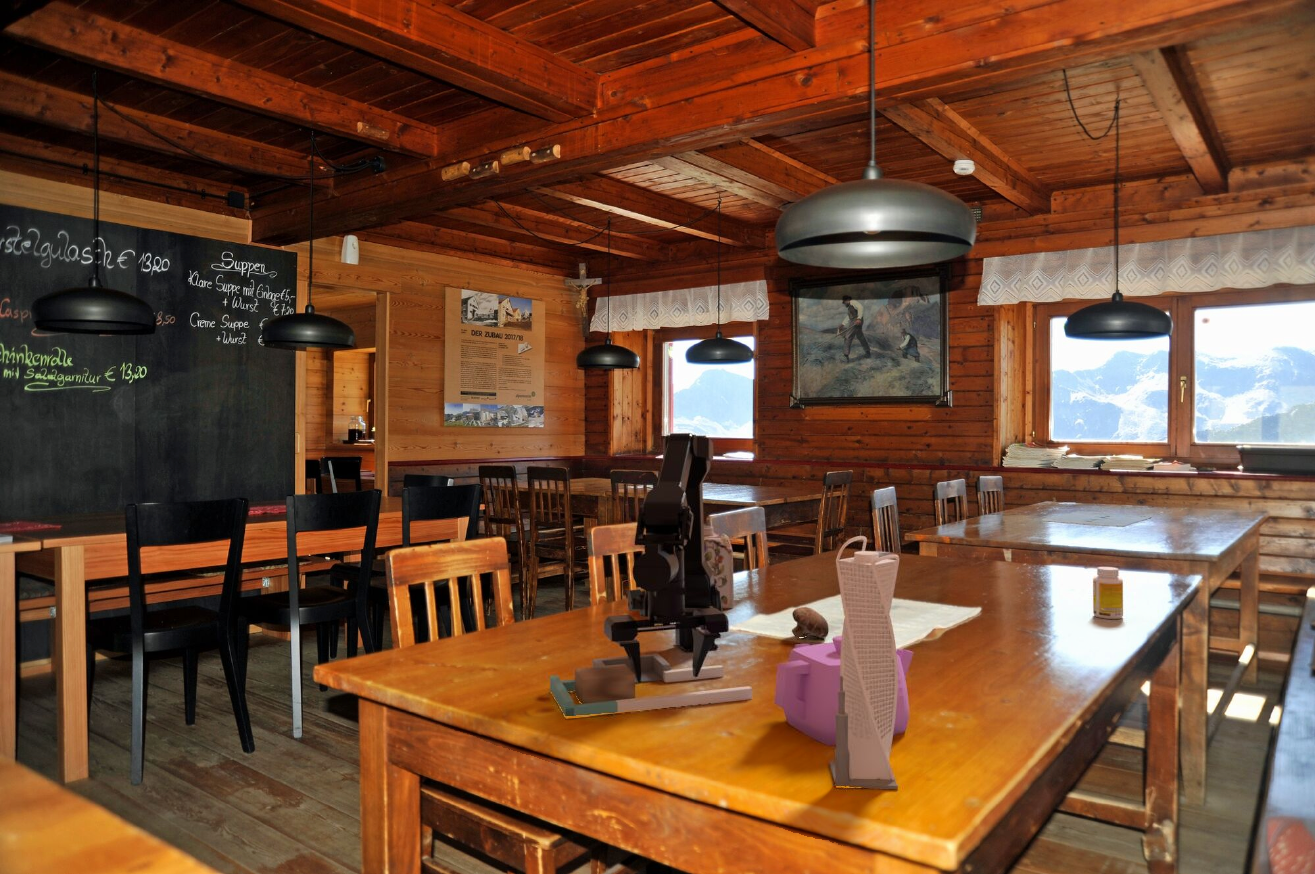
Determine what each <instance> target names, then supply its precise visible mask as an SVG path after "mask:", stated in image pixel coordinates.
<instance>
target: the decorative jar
mask: <svg viewBox="0 0 1315 874" xmlns="http://www.w3.org/2000/svg"><path fill="white" fill-rule="evenodd" d="M704 553H705V560H706V562H707V563H708V565H709V566H710V568H711V569H712V571H713V573H714V584H717V587H718V590H719V591H720V594H721V602H722V610H723V609H733V608H734V606H735V605H734V599H735V598H734V596H735V595H734V594H735V592H734V591H735V588H734V586H735V585H734V584H735V583H734V580H735V579H734V557H733V553H734V551H733V545H732V544H731V539H730V537H729V536H728V535H727V534H725V533H720V532H715V531H714V526H712V525H704ZM710 608H713V606H711V607H710Z"/></svg>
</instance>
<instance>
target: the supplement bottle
mask: <svg viewBox="0 0 1315 874" xmlns="http://www.w3.org/2000/svg"><path fill="white" fill-rule="evenodd" d="M1092 595H1093V596H1092V606H1093V607H1092V609H1093V610H1092V612H1093V615H1094V616H1095V617H1097V618H1100V619H1105V620H1119V619H1122V618H1123V616H1124V581H1123V579H1122V578H1121V577H1120V575H1119V568H1117V567H1113V566H1099V567H1097V570H1096V575H1095V576H1093V579H1092Z"/></svg>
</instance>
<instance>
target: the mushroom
mask: <svg viewBox="0 0 1315 874" xmlns="http://www.w3.org/2000/svg"><path fill="white" fill-rule="evenodd" d="M791 613H792V618H793V621H794V622H796V626H795V627H793V628H792V629H791V633H792V634H793V636H795V637H796V639H799V637H805V636H807V637H808V636H810V635H811V636H816V637H817V638H818V637H819V639H821V638H823V639H826V638H827V637H828V635H829V624H828V621H827V619H826V618H825V617H824V616H823V615H821V614H820V613H819V612H817V611H816V610H815V609H813V608H812V607H807V606H803V607H797V608H795V609H794V610H793V611H792V612H791ZM805 638H806V637H805Z"/></svg>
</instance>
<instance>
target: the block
mask: <svg viewBox="0 0 1315 874" xmlns="http://www.w3.org/2000/svg"><path fill="white" fill-rule="evenodd" d="M574 680H575V692H574V695H576V696H577V698H578V699H579V701H580V702H581V703H582V704H587V703H597V702H606V701H615V700H625V699H634V698H636V683H635V674H634V673H633V672H632V671H631V670H630V669H629V668H628V667H627V666H626V665H625V664H621V665H611V666H601V667H593V666H591V667H582V668H574Z"/></svg>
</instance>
